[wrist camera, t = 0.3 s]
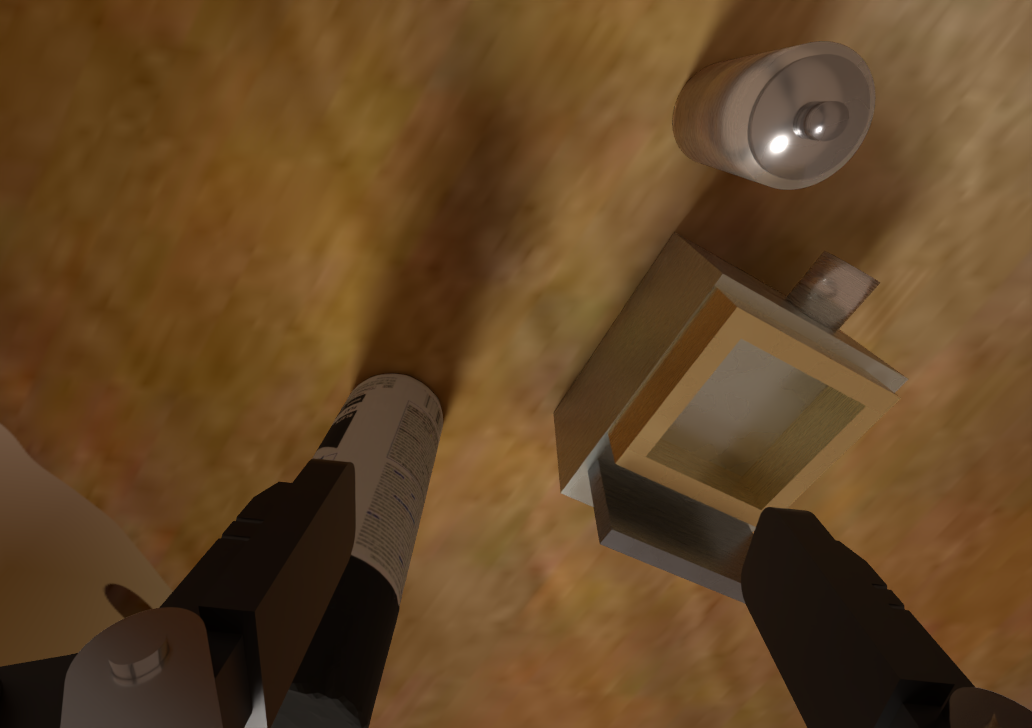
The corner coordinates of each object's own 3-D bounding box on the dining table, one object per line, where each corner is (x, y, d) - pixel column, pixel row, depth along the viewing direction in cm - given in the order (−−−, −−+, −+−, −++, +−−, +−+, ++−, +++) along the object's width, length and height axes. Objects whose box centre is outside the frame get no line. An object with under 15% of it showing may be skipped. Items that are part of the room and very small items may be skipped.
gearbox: (706, 183, 28) (837, 240, 16) (857, 274, 30) (1066, 382, 18) (553, 413, 35) (567, 567, 23) (684, 473, 37) (756, 642, 25)
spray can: (362, 354, 33) (171, 650, 15) (460, 390, 34) (388, 704, 16) (339, 432, 36) (153, 757, 18) (429, 462, 37) (340, 796, 19)
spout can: (710, 41, 25) (826, 1, 15) (786, 92, 26) (941, 86, 16) (654, 136, 27) (725, 154, 17) (726, 181, 28) (832, 221, 18)
